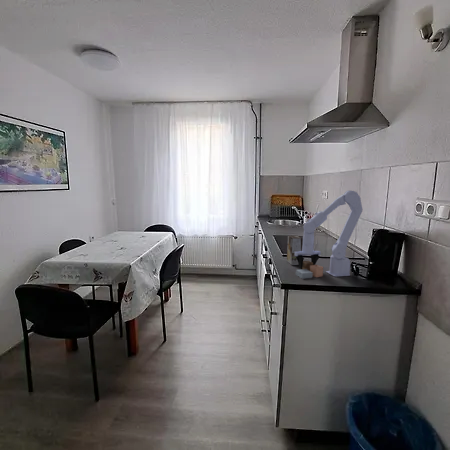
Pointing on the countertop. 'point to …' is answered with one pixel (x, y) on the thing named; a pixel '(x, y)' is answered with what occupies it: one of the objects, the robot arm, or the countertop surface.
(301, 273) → the plinth block
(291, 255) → the coffee box
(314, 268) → the terracotta block
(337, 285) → the countertop surface
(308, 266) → the walnut block
